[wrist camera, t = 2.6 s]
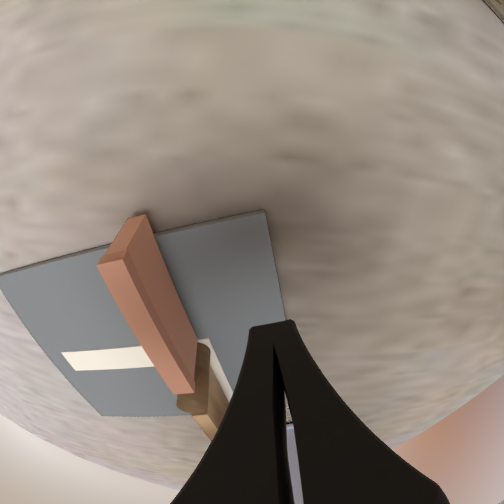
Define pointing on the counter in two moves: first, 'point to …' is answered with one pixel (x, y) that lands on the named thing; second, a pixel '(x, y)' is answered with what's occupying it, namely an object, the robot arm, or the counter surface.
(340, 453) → the robot arm
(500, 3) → the coffee box
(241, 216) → the card
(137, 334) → the swing panel
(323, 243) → the counter surface
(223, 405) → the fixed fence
